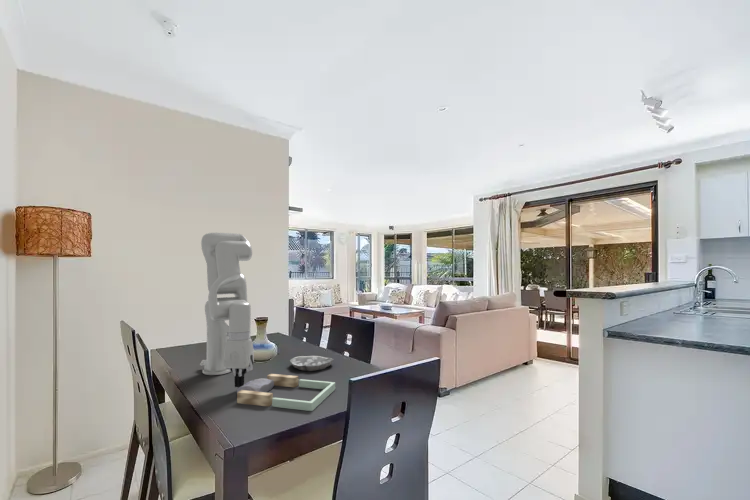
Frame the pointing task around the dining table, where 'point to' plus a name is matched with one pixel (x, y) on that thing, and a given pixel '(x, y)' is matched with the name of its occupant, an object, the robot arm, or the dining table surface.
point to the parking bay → (306, 405)
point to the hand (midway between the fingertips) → (239, 386)
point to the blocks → (264, 397)
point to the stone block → (258, 385)
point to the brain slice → (311, 362)
